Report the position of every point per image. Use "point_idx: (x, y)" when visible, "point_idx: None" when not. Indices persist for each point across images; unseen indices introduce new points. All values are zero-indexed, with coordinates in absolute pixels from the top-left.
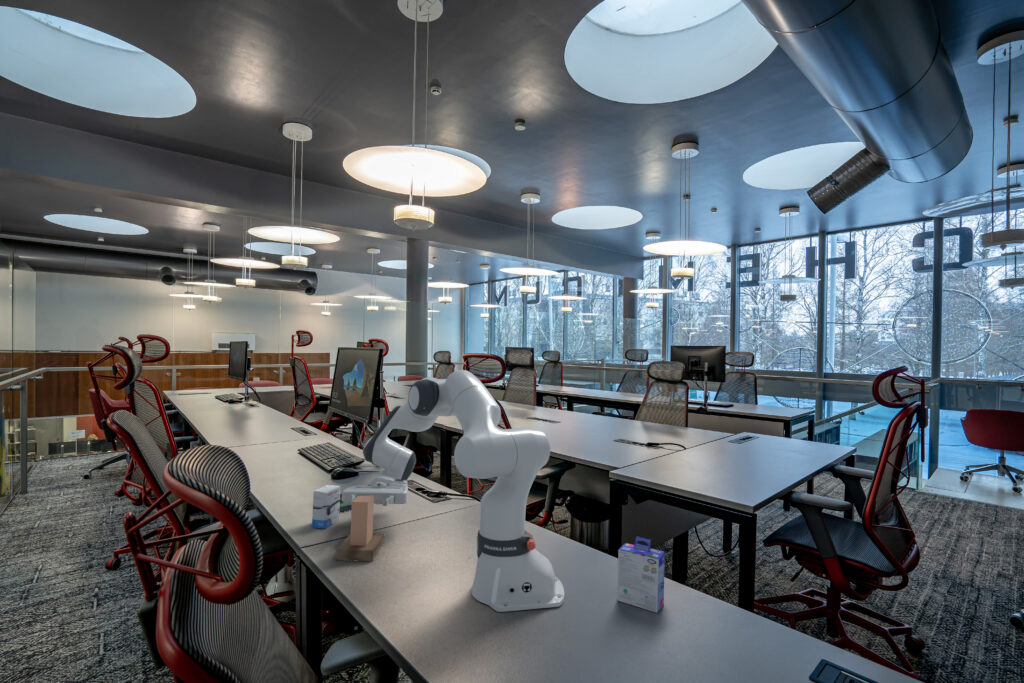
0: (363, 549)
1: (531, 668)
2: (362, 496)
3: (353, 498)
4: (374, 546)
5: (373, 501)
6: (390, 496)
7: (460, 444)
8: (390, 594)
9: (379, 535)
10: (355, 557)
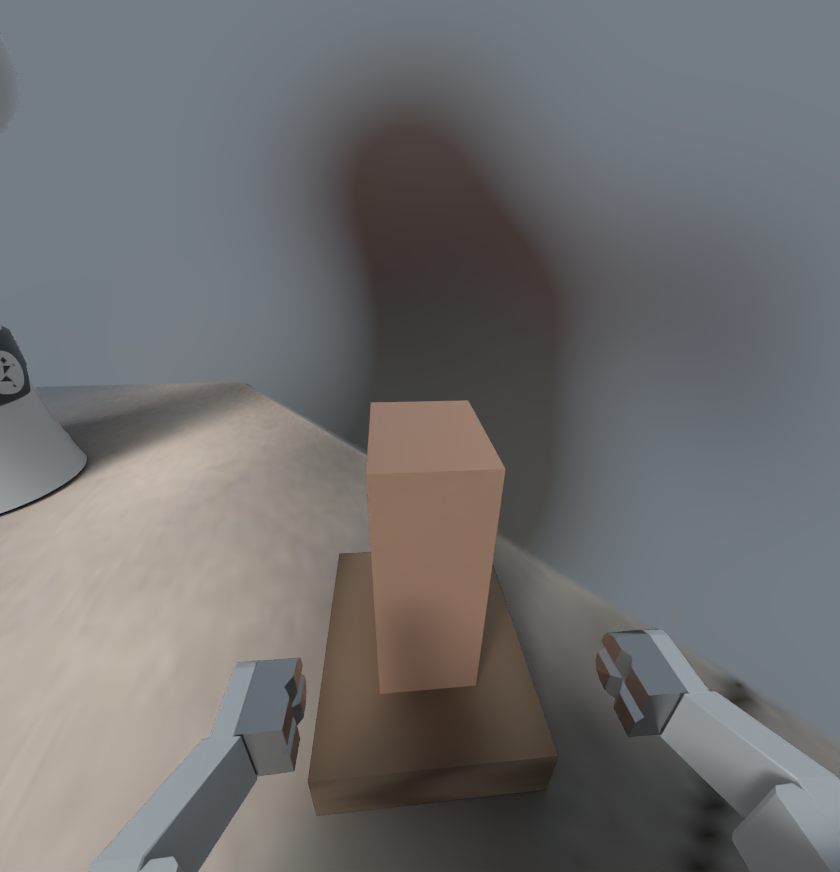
0: None
1: (111, 388)
2: (457, 457)
3: (667, 653)
4: (340, 582)
5: (369, 511)
6: (159, 862)
7: None
8: (274, 462)
9: (339, 733)
10: None
